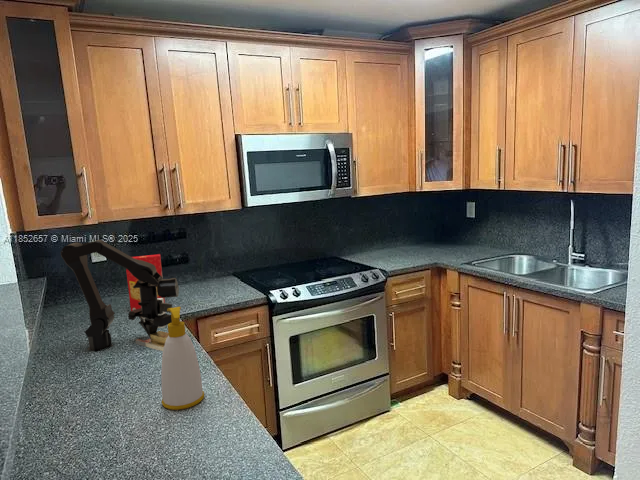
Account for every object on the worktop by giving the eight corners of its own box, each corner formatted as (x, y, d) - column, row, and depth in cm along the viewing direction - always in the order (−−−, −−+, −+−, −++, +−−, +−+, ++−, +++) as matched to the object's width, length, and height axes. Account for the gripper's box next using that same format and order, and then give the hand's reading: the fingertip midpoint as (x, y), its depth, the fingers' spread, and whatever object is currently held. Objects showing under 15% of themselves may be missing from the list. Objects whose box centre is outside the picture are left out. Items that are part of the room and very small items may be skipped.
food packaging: (131, 313, 200) (125, 259, 196) (132, 309, 205) (126, 257, 201) (165, 308, 205) (159, 256, 201) (165, 305, 210) (160, 254, 206)
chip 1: (158, 346, 157) (157, 336, 156) (151, 344, 159) (150, 334, 158) (167, 342, 160) (166, 332, 160) (160, 341, 162) (159, 330, 162)
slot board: (136, 345, 161) (135, 340, 160) (154, 337, 167) (154, 332, 167) (164, 353, 152) (164, 347, 152) (183, 345, 159) (182, 339, 159)
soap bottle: (163, 415, 112) (152, 317, 108) (160, 395, 123) (150, 305, 119) (208, 404, 117) (199, 309, 113) (201, 386, 127) (193, 298, 123)
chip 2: (166, 348, 155) (164, 338, 154) (158, 346, 157) (157, 336, 156) (175, 344, 158) (174, 334, 157) (167, 342, 160) (166, 332, 160)
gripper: (184, 296, 161) (187, 336, 163) (151, 289, 170) (154, 328, 173) (158, 304, 151) (162, 347, 154) (125, 297, 161) (129, 337, 164)
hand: (152, 339), depth 161 cm, fingers closed
